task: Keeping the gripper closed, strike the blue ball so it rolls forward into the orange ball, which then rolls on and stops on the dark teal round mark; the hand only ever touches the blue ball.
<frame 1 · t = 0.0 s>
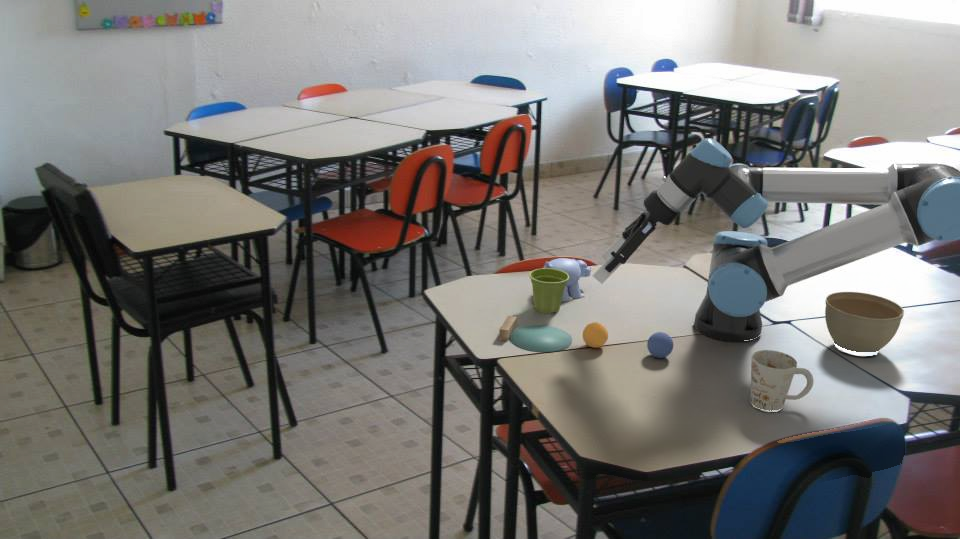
hand: (601, 269, 201), 15 cm above the table, tool tilted 35°, fingers open, 13 cm apart
orange ball: (595, 335, 198), on the table
planter bowl: (855, 349, 204), on the table
blue ball: (660, 344, 195), on the table
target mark: (540, 338, 202), on the table
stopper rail: (507, 333, 204), on the table
plant pot: (546, 309, 218), on the table
hippopotamus toy: (564, 292, 229), on the table
mug: (776, 406, 178), on the table
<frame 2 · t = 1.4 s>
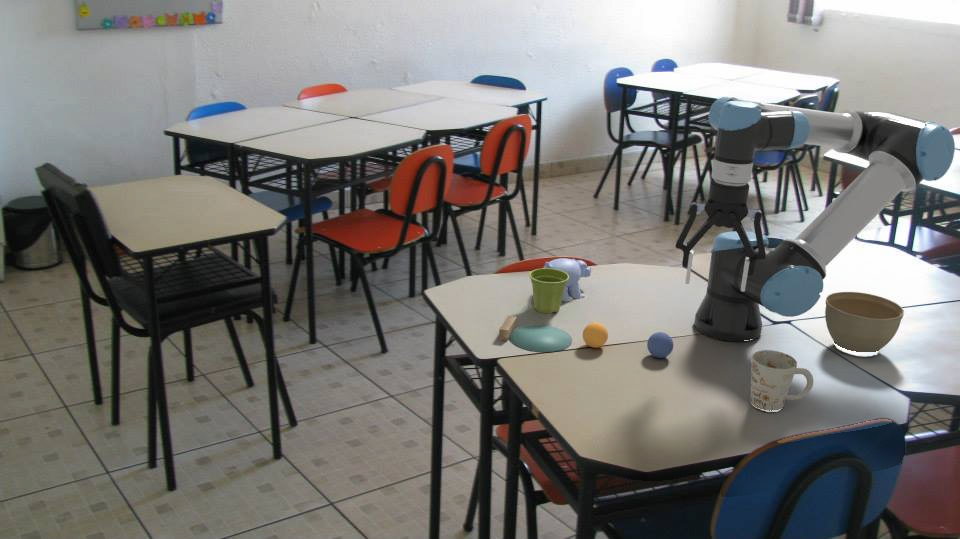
hand: (714, 285, 188), 18 cm above the table, tool pointing down, fingers open, 10 cm apart
nothing on the table moved.
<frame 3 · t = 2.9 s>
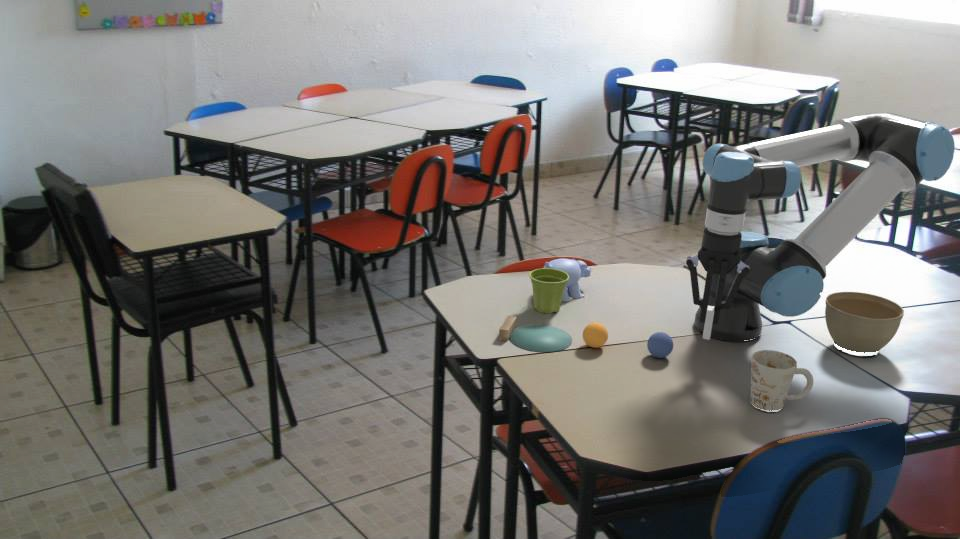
hand: (706, 336, 191), 6 cm above the table, tool pointing down, fingers closed
nothing on the table moved.
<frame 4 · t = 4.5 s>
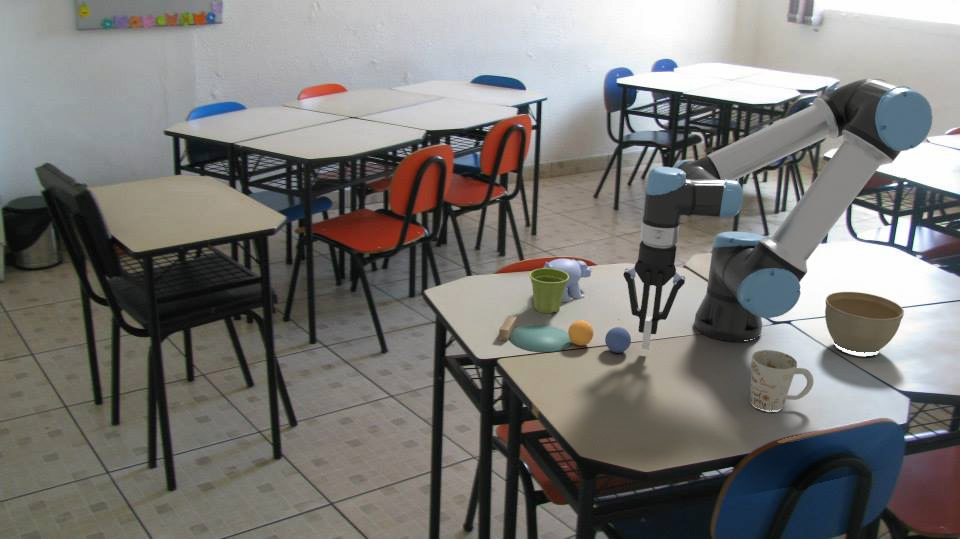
hand: (645, 346, 196), 2 cm above the table, tool pointing down, fingers closed
orange ball: (580, 332, 199), on the table
blue ball: (618, 339, 196), on the table
everything else where it was.
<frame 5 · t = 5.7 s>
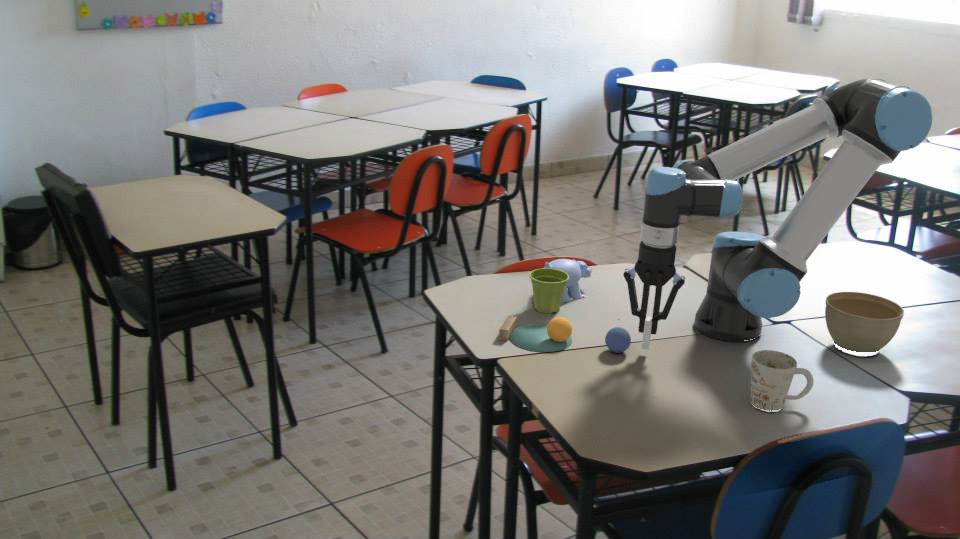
hand: (645, 346, 196), 2 cm above the table, tool pointing down, fingers closed
orange ball: (559, 329, 200), on the table
everything else where it was.
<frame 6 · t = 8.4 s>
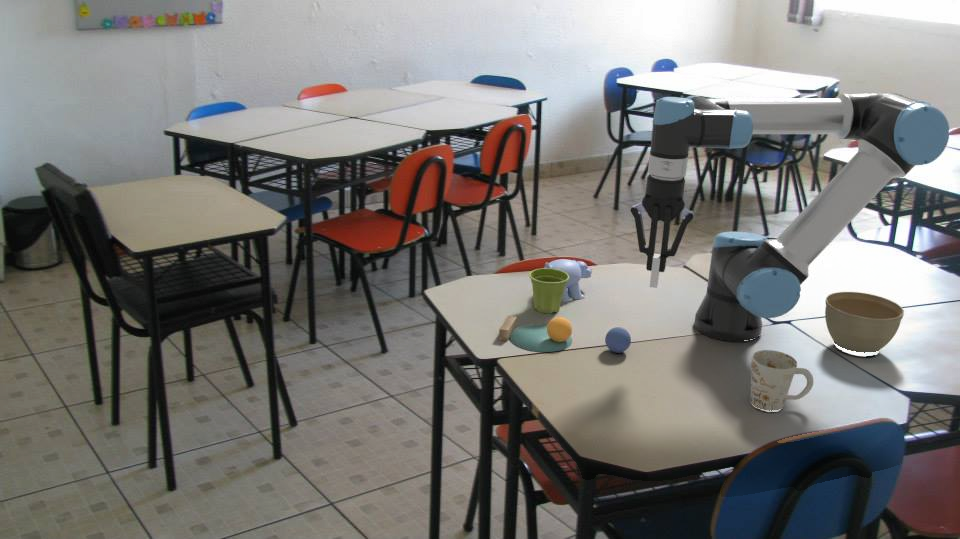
hand: (653, 285, 191), 16 cm above the table, tool pointing down, fingers closed
nothing on the table moved.
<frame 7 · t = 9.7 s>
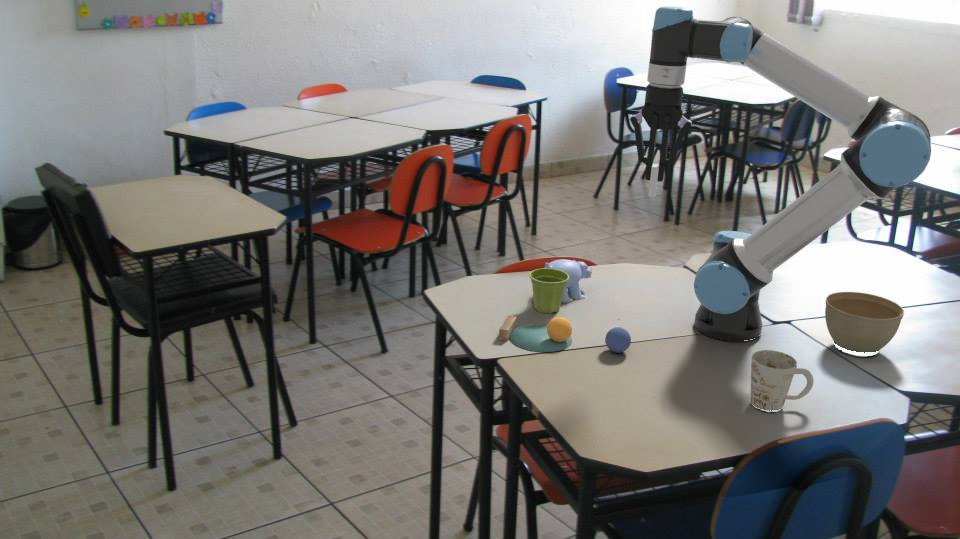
hand: (652, 195, 196), 32 cm above the table, tool pointing down, fingers closed
nothing on the table moved.
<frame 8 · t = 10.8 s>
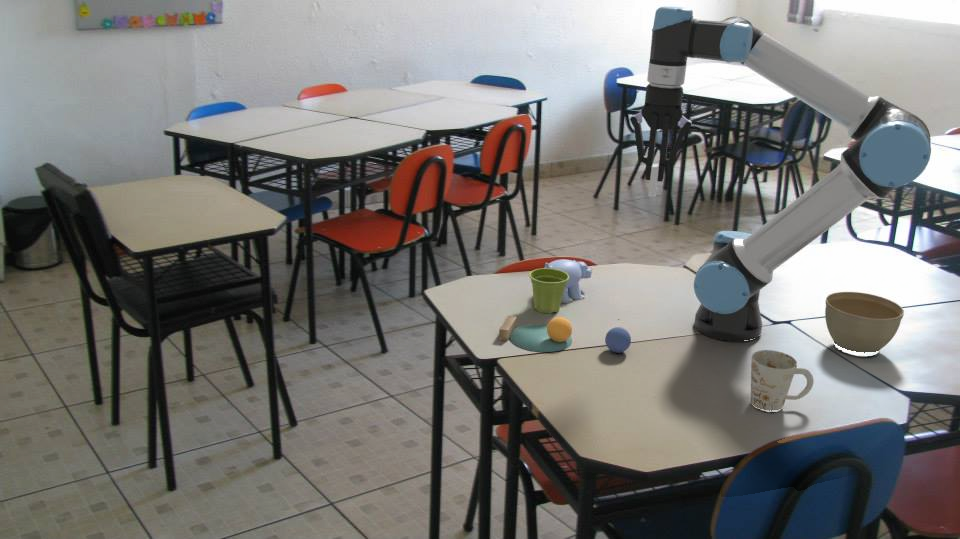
hand: (652, 195, 196), 32 cm above the table, tool pointing down, fingers closed
nothing on the table moved.
at the end: orange ball 4.1 cm from the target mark (horizontally); orange ball never touched the robot; blue ball first touched orange ball at 4.2 s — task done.
